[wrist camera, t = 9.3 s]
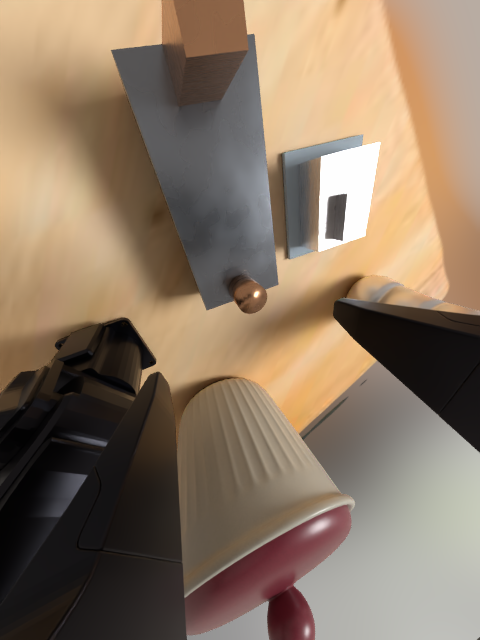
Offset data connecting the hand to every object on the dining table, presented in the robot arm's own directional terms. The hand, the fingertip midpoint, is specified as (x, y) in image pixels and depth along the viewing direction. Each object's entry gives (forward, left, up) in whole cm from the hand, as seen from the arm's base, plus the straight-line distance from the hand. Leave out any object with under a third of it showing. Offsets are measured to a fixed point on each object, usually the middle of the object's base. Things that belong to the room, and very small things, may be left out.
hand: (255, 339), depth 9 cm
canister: (-21, +4, -12) cm, 25 cm away
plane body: (+5, -2, -12) cm, 13 cm away
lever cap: (+3, -13, -12) cm, 18 cm away
